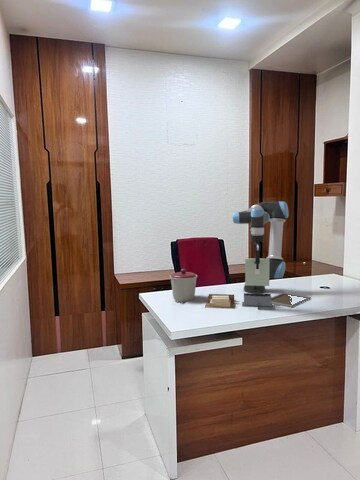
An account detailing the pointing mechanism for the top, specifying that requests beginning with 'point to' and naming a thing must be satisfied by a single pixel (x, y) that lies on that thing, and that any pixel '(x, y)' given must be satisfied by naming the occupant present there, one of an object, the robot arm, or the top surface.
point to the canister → (183, 285)
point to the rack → (231, 297)
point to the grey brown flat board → (286, 300)
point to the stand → (257, 301)
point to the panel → (254, 278)
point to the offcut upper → (220, 299)
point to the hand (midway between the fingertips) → (257, 273)
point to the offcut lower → (220, 304)
